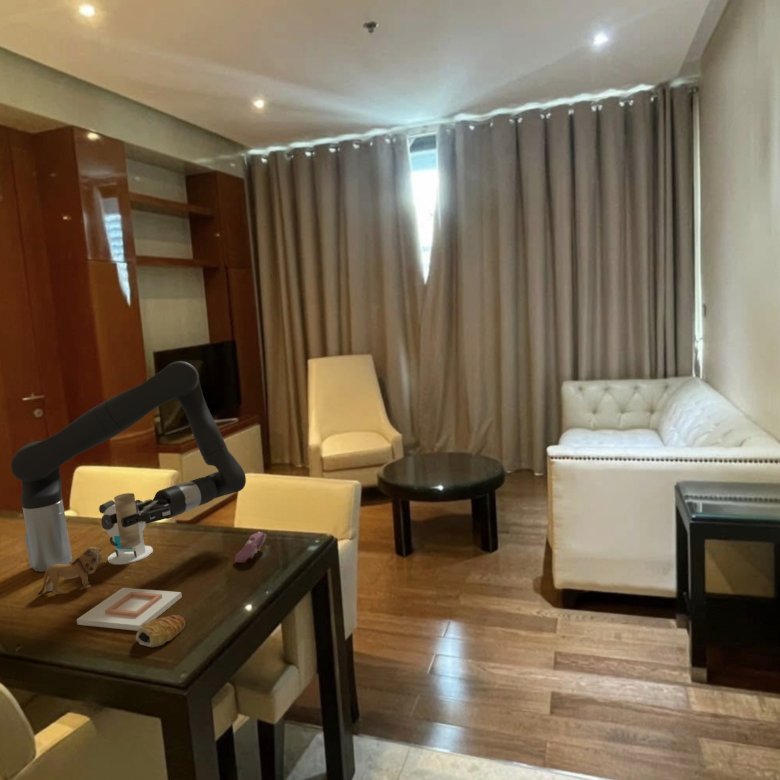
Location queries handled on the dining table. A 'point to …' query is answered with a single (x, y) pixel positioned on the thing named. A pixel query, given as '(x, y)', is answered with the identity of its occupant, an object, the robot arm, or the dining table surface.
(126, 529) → the maple pin
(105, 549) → the dining table surface
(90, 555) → the lion figurine
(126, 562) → the panda figurine
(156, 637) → the pastry
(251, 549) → the video game controller
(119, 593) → the board
